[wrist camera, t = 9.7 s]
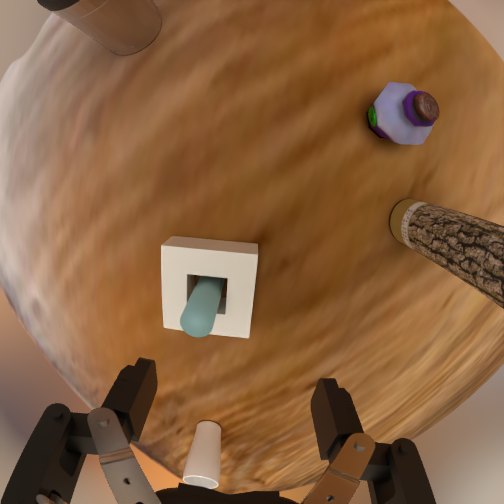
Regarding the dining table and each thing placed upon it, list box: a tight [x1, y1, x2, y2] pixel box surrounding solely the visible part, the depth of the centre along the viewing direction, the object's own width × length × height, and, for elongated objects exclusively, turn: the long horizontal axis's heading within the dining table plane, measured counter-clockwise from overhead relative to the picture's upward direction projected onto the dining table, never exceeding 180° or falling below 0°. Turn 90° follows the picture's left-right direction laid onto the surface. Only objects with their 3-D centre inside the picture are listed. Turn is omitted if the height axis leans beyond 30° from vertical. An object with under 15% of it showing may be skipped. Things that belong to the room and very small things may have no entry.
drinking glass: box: [183, 421, 221, 489], centre depth 42 cm, size 7×7×15 cm
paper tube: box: [390, 199, 504, 309], centre depth 24 cm, size 7×7×25 cm
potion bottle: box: [366, 82, 439, 145], centre depth 27 cm, size 9×9×12 cm
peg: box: [180, 276, 225, 337], centre depth 34 cm, size 4×4×12 cm
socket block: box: [161, 236, 258, 338], centre depth 37 cm, size 12×12×5 cm
